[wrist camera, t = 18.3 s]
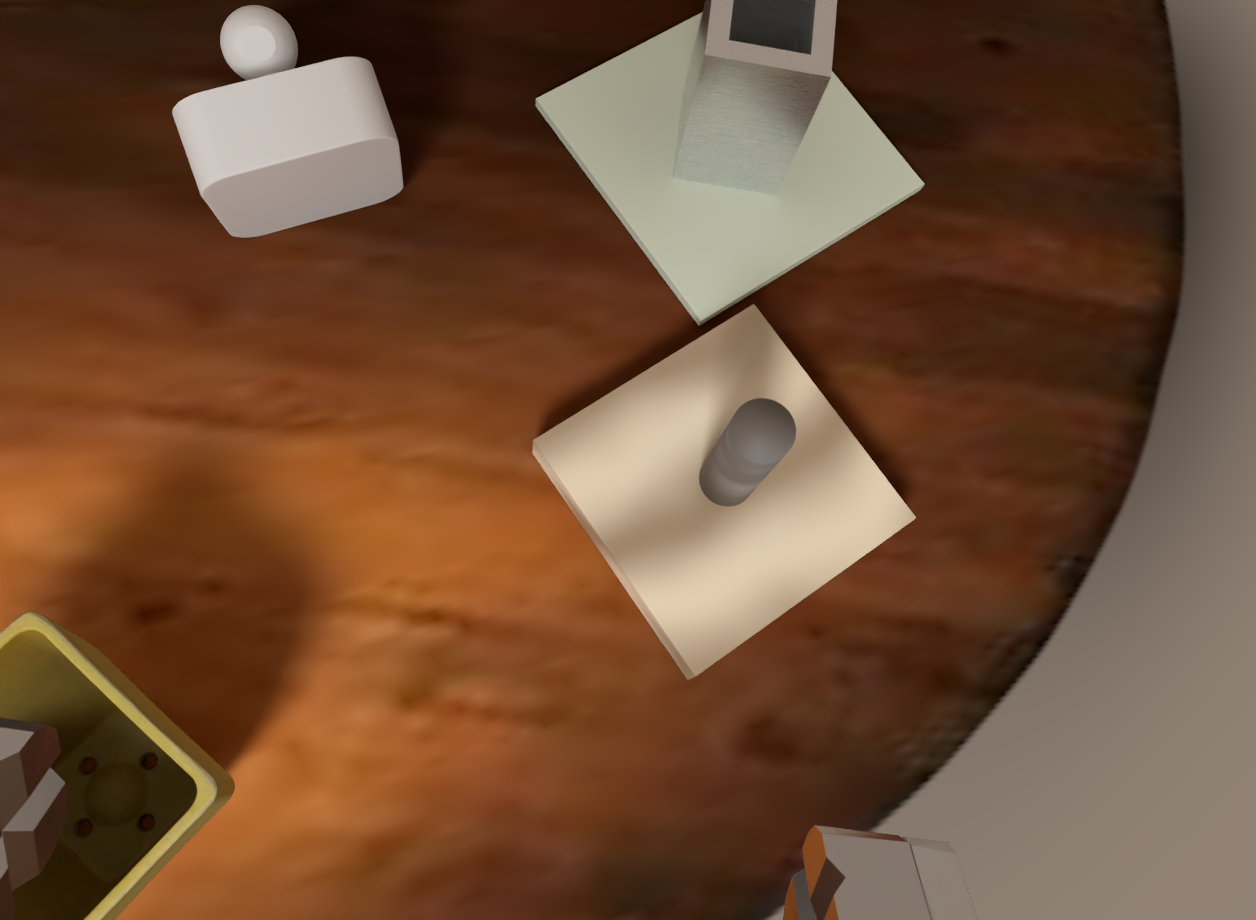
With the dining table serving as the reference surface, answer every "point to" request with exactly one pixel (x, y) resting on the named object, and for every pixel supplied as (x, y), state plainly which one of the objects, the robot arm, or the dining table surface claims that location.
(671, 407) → the peg stand
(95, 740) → the flower pot
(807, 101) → the steel sleeve
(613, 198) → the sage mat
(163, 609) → the dining table surface
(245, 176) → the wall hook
